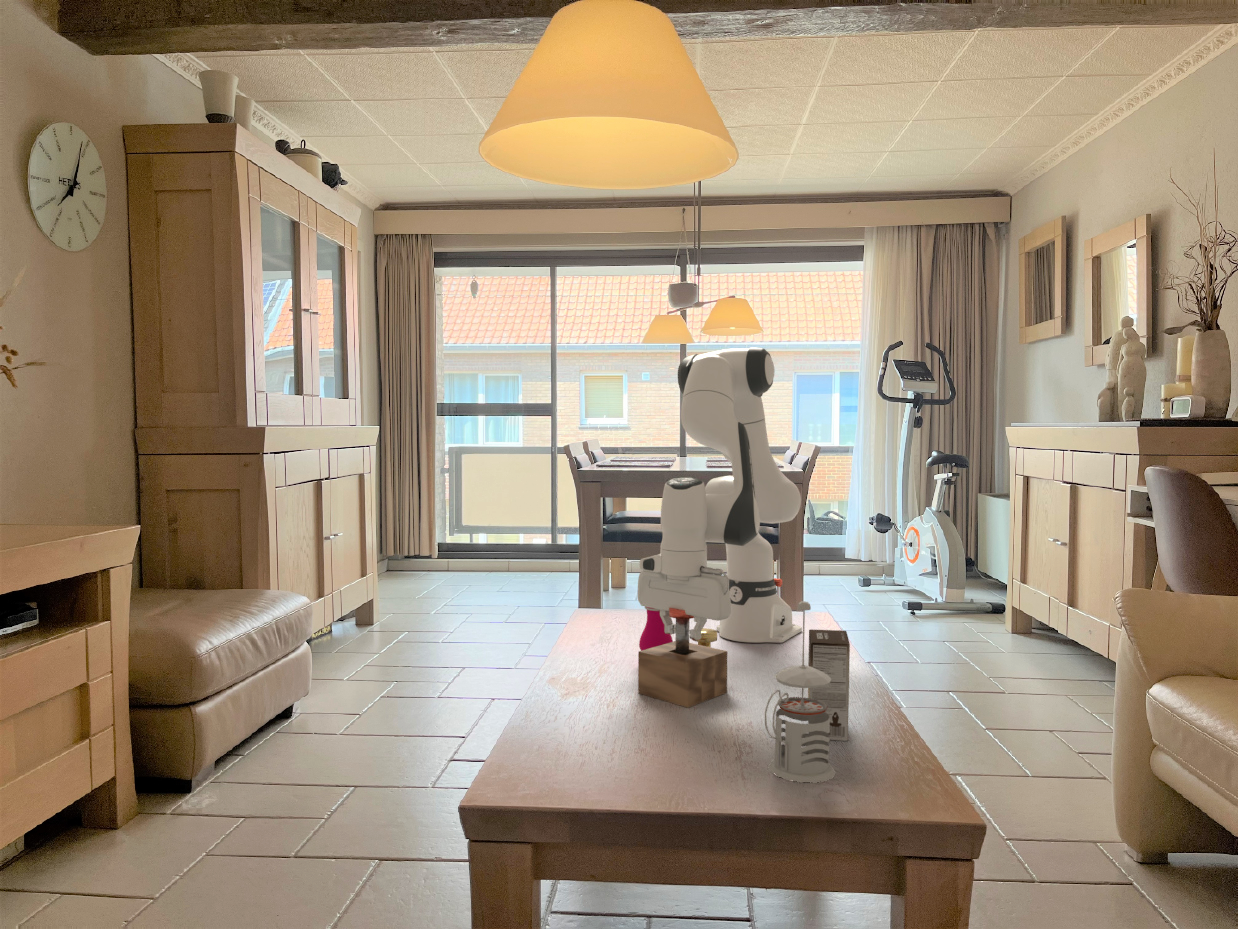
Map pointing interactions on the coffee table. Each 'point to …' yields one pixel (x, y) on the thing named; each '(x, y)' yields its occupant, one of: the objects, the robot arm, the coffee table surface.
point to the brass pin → (707, 637)
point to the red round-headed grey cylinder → (681, 630)
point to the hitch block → (682, 674)
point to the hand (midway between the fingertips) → (682, 636)
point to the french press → (801, 726)
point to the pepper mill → (654, 631)
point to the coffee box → (832, 677)
